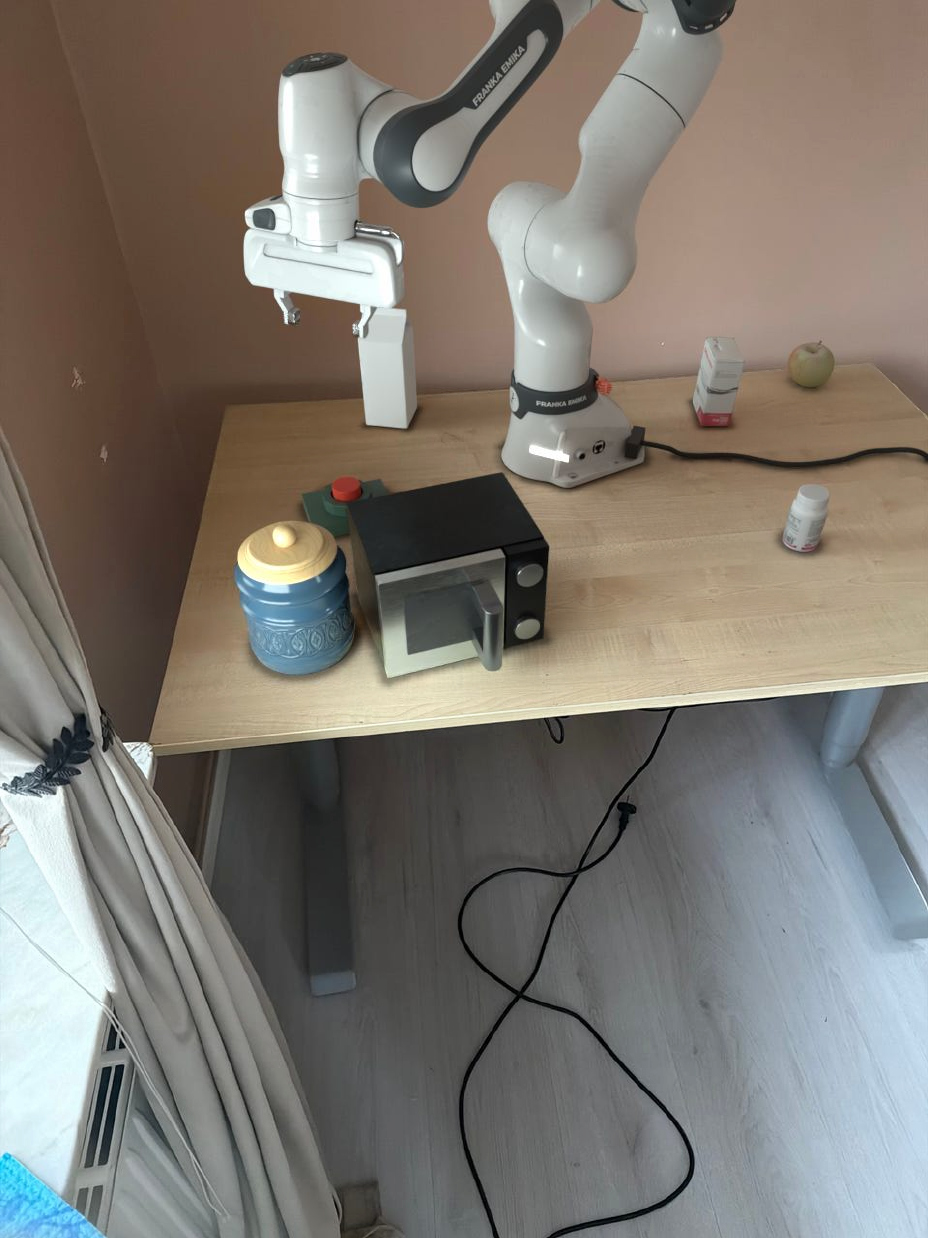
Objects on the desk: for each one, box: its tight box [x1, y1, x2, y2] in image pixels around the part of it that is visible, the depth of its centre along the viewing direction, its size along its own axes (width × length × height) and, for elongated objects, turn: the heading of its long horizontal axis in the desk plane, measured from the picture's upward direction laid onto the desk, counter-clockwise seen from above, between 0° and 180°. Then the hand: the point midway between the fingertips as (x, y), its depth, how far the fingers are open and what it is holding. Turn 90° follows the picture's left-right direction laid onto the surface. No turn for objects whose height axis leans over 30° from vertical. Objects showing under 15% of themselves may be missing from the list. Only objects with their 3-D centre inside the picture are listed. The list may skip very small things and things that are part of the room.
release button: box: [331, 476, 361, 502], centre depth 128 cm, size 4×4×2 cm
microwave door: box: [375, 549, 505, 679], centre depth 102 cm, size 7×15×15 cm, turn 108°
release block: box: [301, 478, 389, 538], centre depth 130 cm, size 12×9×4 cm
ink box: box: [692, 336, 746, 427], centre depth 147 cm, size 9×5×12 cm, turn 179°
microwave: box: [346, 471, 550, 668], centre depth 109 cm, size 16×20×15 cm
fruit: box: [787, 340, 835, 388], centre depth 155 cm, size 8×7×8 cm
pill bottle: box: [782, 483, 831, 553], centre depth 122 cm, size 5×5×8 cm
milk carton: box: [357, 307, 418, 429], centre depth 145 cm, size 7×7×19 cm
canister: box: [233, 520, 356, 676], centre depth 106 cm, size 13×13×18 cm
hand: (326, 329), depth 114 cm, fingers open, 8 cm apart
